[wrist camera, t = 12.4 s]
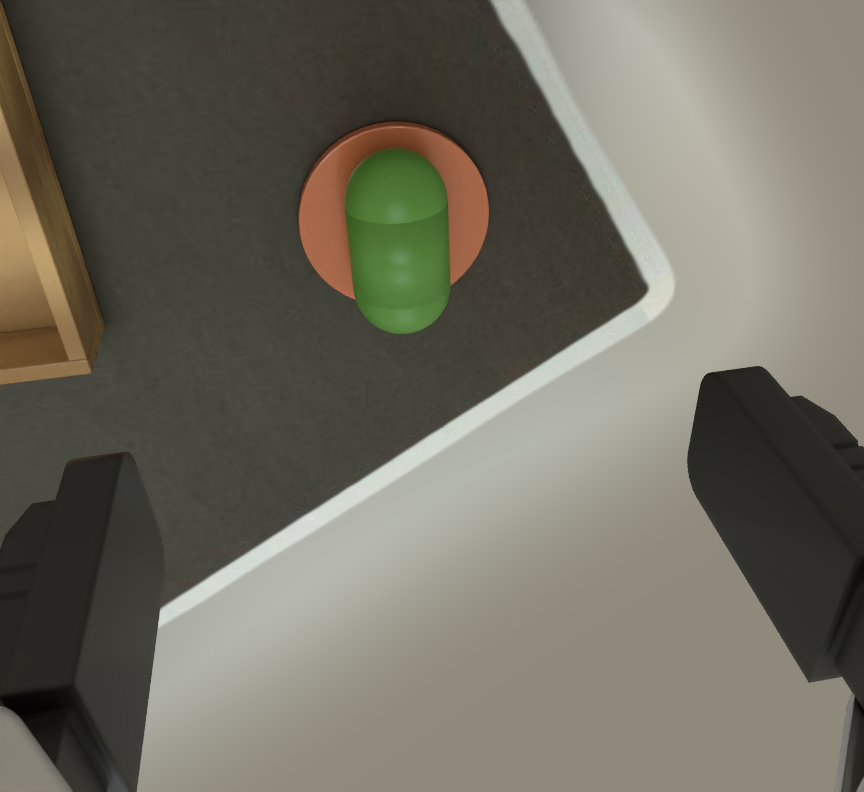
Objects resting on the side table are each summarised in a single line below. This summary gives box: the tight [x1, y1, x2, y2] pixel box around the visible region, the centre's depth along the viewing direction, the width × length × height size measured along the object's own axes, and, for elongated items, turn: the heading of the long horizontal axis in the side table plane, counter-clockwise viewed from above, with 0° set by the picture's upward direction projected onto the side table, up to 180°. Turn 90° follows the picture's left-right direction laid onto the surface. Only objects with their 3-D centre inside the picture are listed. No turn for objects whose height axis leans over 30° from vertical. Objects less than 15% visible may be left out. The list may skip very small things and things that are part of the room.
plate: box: [298, 122, 489, 300], centre depth 35 cm, size 8×8×1 cm
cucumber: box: [344, 148, 451, 334], centre depth 33 cm, size 8×4×4 cm, turn 2°
